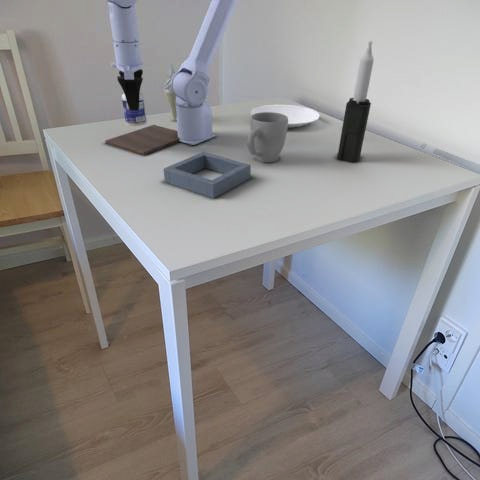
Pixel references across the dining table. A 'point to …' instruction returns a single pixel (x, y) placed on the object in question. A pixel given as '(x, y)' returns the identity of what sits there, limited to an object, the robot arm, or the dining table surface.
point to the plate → (290, 113)
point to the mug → (267, 135)
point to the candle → (357, 112)
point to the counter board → (145, 139)
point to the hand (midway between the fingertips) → (134, 106)
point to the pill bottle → (135, 112)
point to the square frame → (185, 179)
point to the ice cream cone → (171, 93)
